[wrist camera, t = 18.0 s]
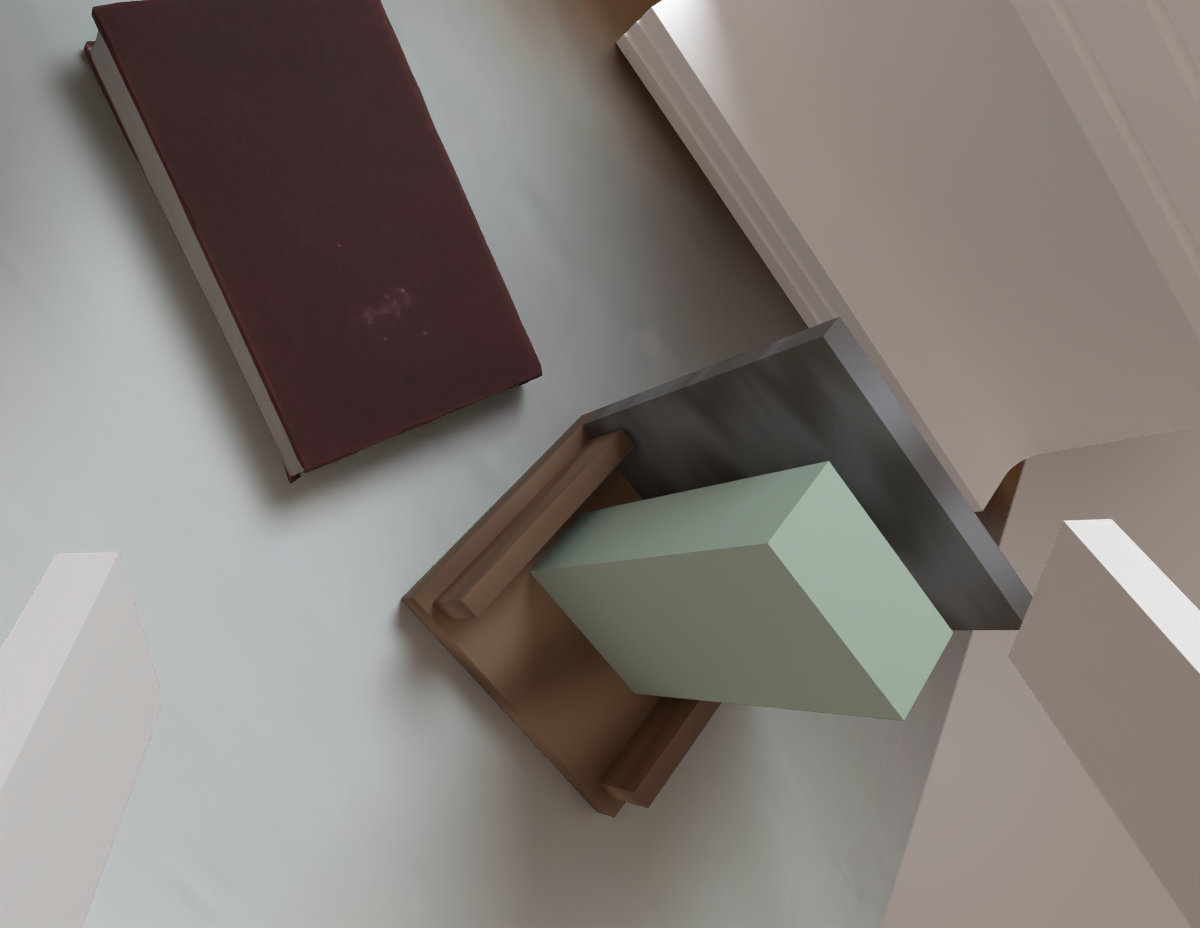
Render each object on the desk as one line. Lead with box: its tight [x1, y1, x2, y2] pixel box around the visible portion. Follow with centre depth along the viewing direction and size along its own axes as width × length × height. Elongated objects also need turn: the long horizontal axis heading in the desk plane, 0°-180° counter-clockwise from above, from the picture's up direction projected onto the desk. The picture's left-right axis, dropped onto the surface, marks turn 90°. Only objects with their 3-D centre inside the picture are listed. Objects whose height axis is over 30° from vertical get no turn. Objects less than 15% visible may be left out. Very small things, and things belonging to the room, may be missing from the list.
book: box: [84, 0, 542, 483], centre depth 40 cm, size 12×19×3 cm, turn 28°
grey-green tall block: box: [529, 461, 953, 721], centre depth 37 cm, size 8×4×16 cm, turn 46°
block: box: [616, 0, 1200, 512], centre depth 46 cm, size 35×8×28 cm, turn 45°
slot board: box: [401, 316, 1032, 817], centre depth 38 cm, size 14×13×18 cm
